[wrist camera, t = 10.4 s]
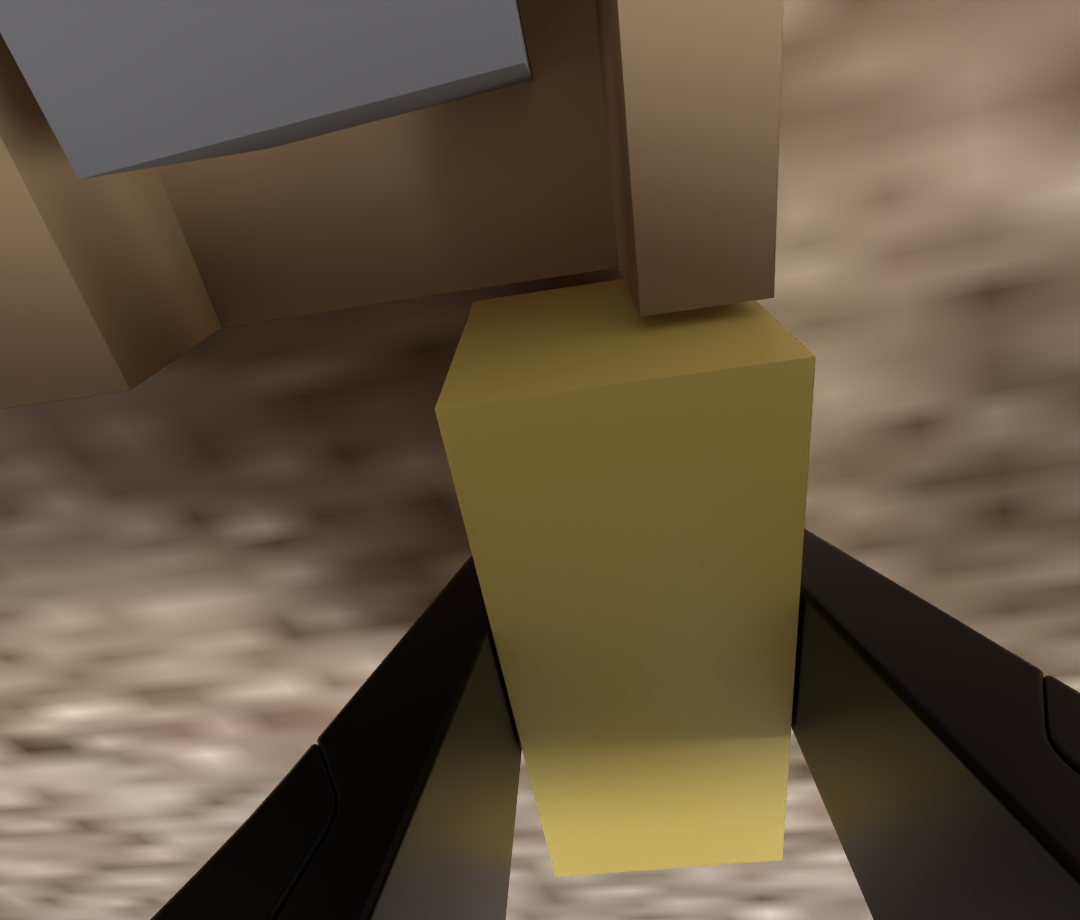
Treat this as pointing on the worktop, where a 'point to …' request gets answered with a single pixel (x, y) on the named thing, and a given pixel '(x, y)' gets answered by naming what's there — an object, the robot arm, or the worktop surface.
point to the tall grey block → (247, 70)
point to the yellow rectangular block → (638, 563)
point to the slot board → (410, 199)
